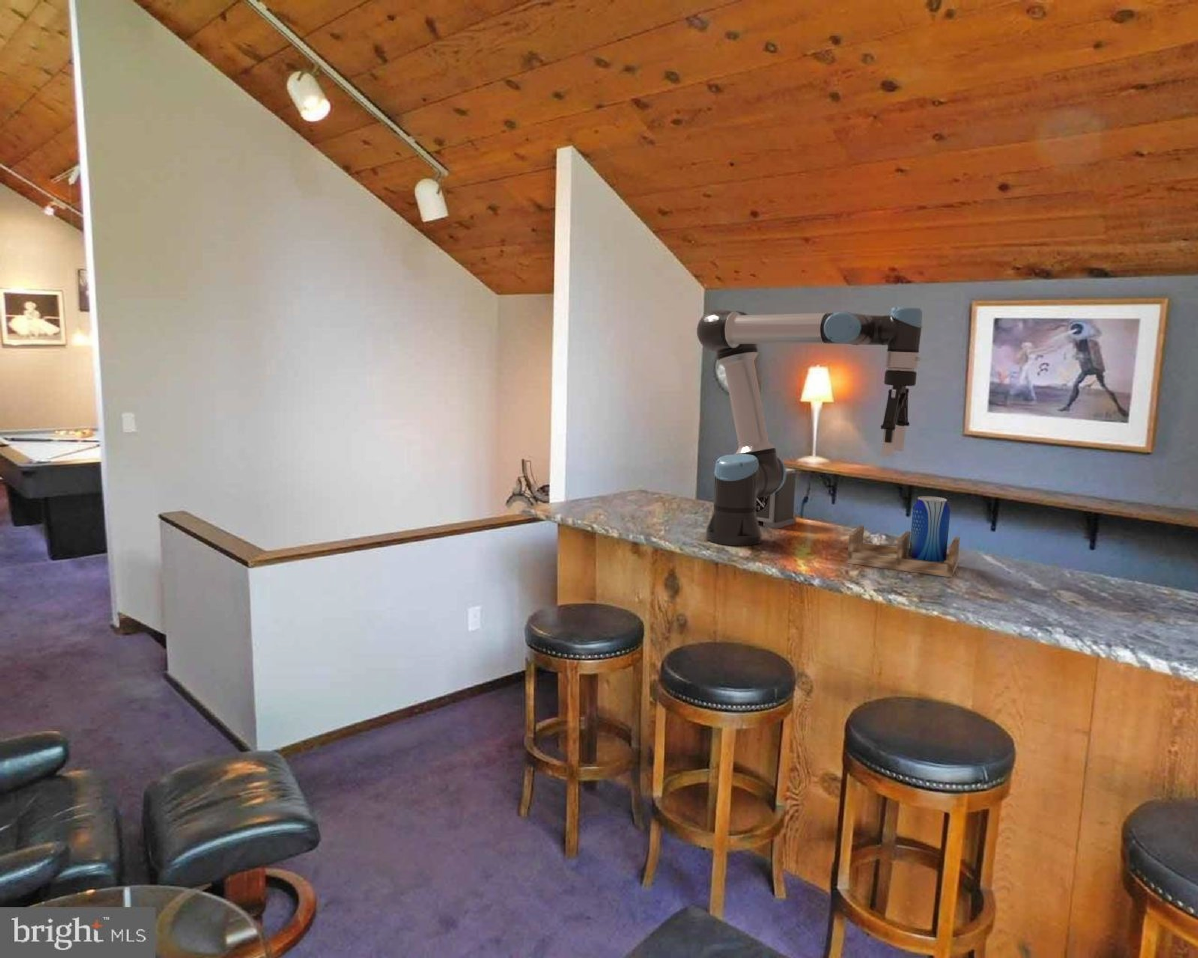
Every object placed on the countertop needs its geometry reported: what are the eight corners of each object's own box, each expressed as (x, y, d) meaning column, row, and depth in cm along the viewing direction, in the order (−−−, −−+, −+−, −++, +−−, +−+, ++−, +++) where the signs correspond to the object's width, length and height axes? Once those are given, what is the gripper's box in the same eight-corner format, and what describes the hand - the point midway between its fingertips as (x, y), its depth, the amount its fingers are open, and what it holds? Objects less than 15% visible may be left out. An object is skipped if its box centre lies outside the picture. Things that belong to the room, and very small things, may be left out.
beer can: (949, 568, 192) (954, 502, 189) (912, 565, 193) (917, 500, 191) (941, 559, 200) (946, 496, 197) (906, 557, 201) (910, 494, 199)
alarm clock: (723, 519, 251) (726, 461, 248) (745, 514, 261) (748, 458, 258) (776, 528, 239) (779, 468, 236) (797, 522, 249) (800, 464, 246)
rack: (847, 562, 200) (849, 534, 199) (858, 552, 211) (860, 525, 210) (951, 577, 188) (954, 547, 187) (957, 565, 199) (959, 537, 198)
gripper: (907, 371, 190) (898, 459, 193) (924, 370, 211) (916, 449, 214) (875, 369, 193) (866, 456, 197) (895, 368, 215) (887, 447, 218)
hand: (892, 453), depth 206 cm, fingers open, 13 cm apart
